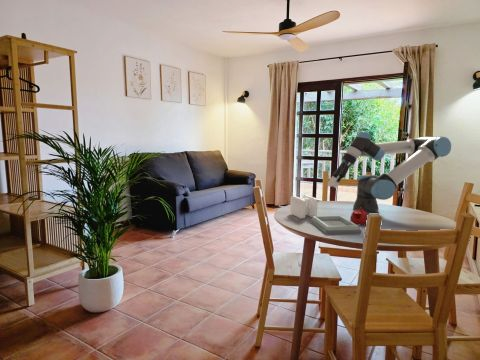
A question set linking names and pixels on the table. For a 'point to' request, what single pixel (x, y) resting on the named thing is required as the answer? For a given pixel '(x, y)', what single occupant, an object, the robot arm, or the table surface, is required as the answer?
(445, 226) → the table surface
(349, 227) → the grey green tray
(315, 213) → the cable organizer
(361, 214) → the red tomato
